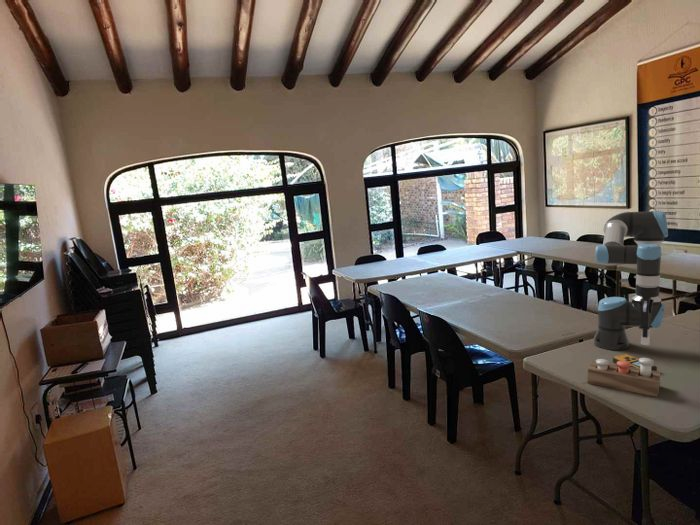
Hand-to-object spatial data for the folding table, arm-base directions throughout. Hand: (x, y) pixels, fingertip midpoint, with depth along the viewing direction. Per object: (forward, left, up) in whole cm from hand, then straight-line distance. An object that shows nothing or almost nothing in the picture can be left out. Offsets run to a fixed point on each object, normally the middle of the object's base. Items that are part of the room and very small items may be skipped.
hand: (645, 344), depth 178 cm
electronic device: (-20, -6, -19) cm, 29 cm away
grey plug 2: (0, +1, -14) cm, 14 cm away
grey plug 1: (0, -14, -18) cm, 23 cm away
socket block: (0, -7, -19) cm, 20 cm away
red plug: (0, -7, -17) cm, 18 cm away
